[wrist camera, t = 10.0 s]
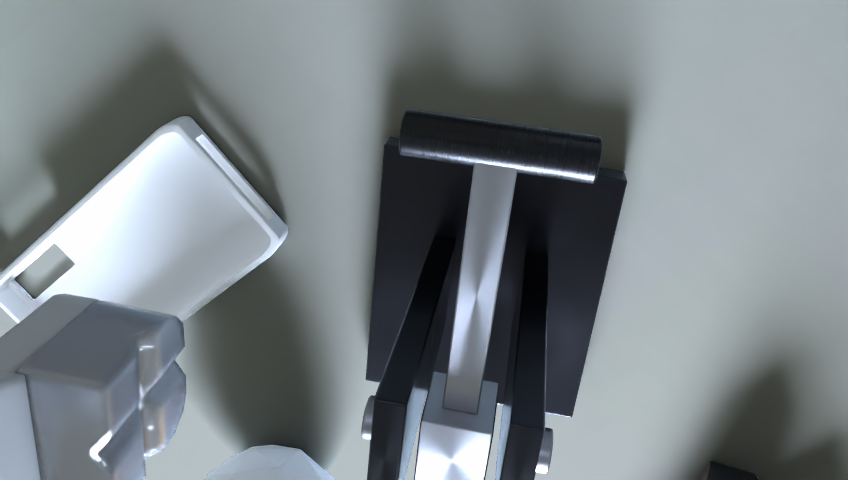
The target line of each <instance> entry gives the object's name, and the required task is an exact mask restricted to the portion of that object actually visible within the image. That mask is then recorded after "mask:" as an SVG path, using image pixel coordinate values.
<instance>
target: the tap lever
mask: <svg viewBox="0 0 848 480" xmlns="http://www.w3.org/2000/svg"><path fill="white" fill-rule="evenodd" d="M602 145H603V141H602V137H600V136H595V135H588V134H581V133H574V132H567V131H560V130H553V129H546V128H539V127H532V126H525V125H518V124H511V123H504V122H497V121H489V120H482V119H475V118H468V117H461V116H454V115H447V114H440V113H433V112H426V111H419V110H412V109H407V110H406V111H405V113H404V116H403V119H402V123H401V129H400V136H399V151H400V154H401V155H403V156H409V157H416V158H423V159H429V160H436V161H443V162H449V163H456V164H463V165H469V166H474V169H473V177H472V184H471V192H470V200H469V207H468V215H467V222H466V230H465V238H464V245H463V253H462V261H461V268H460V276H459V283H458V291H457V299H456V306H455V314H454V322H453V329H452V337H451V344H450V352H449V360H448V367H447V374H446V373H440V372H433V374H432V378H431V382H430V386H429V390H428V394H427V398H426V402H425V406H424V410H423V414H422V418H421V423H420V431H419V440H418V449H417V458H416V467H415V476H414V480H485V476H486V471H487V465H488V460H489V454H490V449H491V443H492V438H493V431H494V423H495V415H496V407H497V399H498V391H499V383H496V382H490V381H484V380H483V377H484V371H485V365H486V359H487V353H488V347H489V341H490V335H491V329H492V322H493V316H494V310H495V304H496V298H497V292H498V286H499V280H500V274H501V268H502V261H503V255H504V249H505V243H506V237H507V231H508V225H509V219H510V213H511V207H512V200H513V194H514V188H515V182H516V176H517V173H523V174H530V175H536V176H543V177H550V178H557V179H563V180H570V181H577V182H583V183H590V184H592V183H594V182H595V180H596V178H597V174H598V170H599V166H600V161H601V154H602Z"/></svg>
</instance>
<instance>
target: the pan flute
mask: <svg viewBox="0 0 848 480" xmlns="http://www.w3.org/2000/svg"><path fill="white" fill-rule="evenodd" d="M700 480H759V479H758V478H757V476H756V475H755V474H753V473H750V472H747V471H744V470H740V469H737V468H734V467H730V466H727V465H724V464H721V463H717V462H714V461H710V463H709V465H708V466H707V468H706V470H705V472H704V474H703V475H702V477H701V479H700Z"/></svg>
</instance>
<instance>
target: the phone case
mask: <svg viewBox="0 0 848 480" xmlns="http://www.w3.org/2000/svg"><path fill="white" fill-rule="evenodd" d="M287 234H288V227H287V225H286V224H285V223H284V222H283V221H282V220H281V219H280V217H279V216H278V215H277V214H276V213H275V212H274V211H273V210H272V208H271V207H270V206H269V205H268V204H267V203H266V202H265V200H264V199H263V198H262V197H261V196H260V195H259V194H258V192H257V191H256V190H255V189H254V188H253V187H252V186H251V185H250V183H249V182H248V181H247V180H246V179H245V178H244V177H243V175H242V174H241V173H240V172H239V171H238V170H237V169H236V168H235V166H234V165H233V164H232V163H231V162H230V161H229V160H228V158H227V157H226V156H225V155H224V154H223V153H222V152H221V151H220V149H219V148H218V147H217V146H216V145H215V144H214V143H213V141H212V140H211V139H210V138H209V137H208V136H207V135H206V134H205V132H204V131H203V130H202V129H201V128H200V127H199V126H198V124H197V123H196V122H195V121H194V120H193V119H192V118H191V117H188V116H182V117H178V118H176V119H174V120H172V121H171V122H169V123H167V124H165V125H163V126H162V127H160V128H159V129H157V130H156V131H155V132H154V133H153V134H152V135H151V136H149V137H148V138H147V139H146V140H145V141H144V142H143V143H142V144H141V145H140V146H139V147H137V148H136V149H135V150H134V151H133V152H132V153H131V154H130V155H129V156H128V157H127V158H125V159H124V160H123V161H122V162H121V163H120V164H119V165H118V166H117V167H116V168H115V169H113V170H112V171H111V172H110V173H109V174H108V175H107V176H106V177H105V178H104V179H103V180H101V181H100V182H99V183H98V184H97V185H96V186H95V187H94V188H93V189H92V190H91V191H89V192H88V193H87V194H86V195H85V196H84V197H83V198H82V199H81V200H80V201H79V202H77V203H76V204H75V205H74V206H73V207H72V208H71V209H70V210H69V211H68V212H67V213H65V214H64V215H63V216H62V217H61V218H60V219H59V220H58V221H57V222H56V223H55V224H53V225H52V226H51V227H50V228H49V229H48V230H47V231H46V232H45V233H44V234H43V235H42V236H40V237H39V238H38V239H37V240H36V241H35V242H34V243H33V244H32V245H31V246H30V247H28V248H27V249H26V250H25V251H24V252H23V253H22V254H21V255H20V256H19V257H18V258H16V259H15V260H14V261H13V262H12V263H11V264H10V265H9V266H8V267H7V268H6V269H4V270H3V271H2V272H1V273H0V307H1V308H2V309H4V310H5V311H6V312H7V313H8V314H9V315H10V316H11V317H12V318H13V319H14V320H15V321H16V322H17V323H19V322H21V321H22V320H23V319H24V318H26V317H27V316H28V315H29V314H31V313H32V312H33V311H34V310H36V309H37V308H38V307H39V306H41V305H42V304H43V303H44V302H46V301H47V300H48V299H49V298H51V297H52V296H53V295H57V294H64V293H67V294H72V295H77V296H83V297H88V298H93V299H98V300H100V301H108V302H113V303H117V304H122V305H127V306H132V307H136V308H141V309H146V310H150V311H155V312H160V313H164V314H169V315H174V316H177V317H178V318H179V319H180V320H181V322H183V321H184V320H186V319H187V318H188V317H190V316H191V315H192V314H194V313H195V312H196V311H198V310H199V309H200V308H202V307H203V306H204V305H206V304H207V303H208V302H210V301H211V300H212V299H214V298H215V297H216V296H218V295H219V294H221V293H222V292H223V291H225V290H226V289H227V288H229V287H230V286H231V285H233V284H234V283H235V282H237V281H238V280H239V279H241V278H242V277H243V276H245V275H246V274H247V273H249V272H250V271H251V270H253V269H254V268H255V267H257V266H258V265H259V264H261V263H262V262H264V261H265V260H266V259H268V258H269V257H270V256H271V255H272V254H273V253H274V252H275V251H276V250H277V249H278V247H279V246H280V245H281V244H282V242H283V241H284V240H285V238H286V237H287ZM54 243H55V244H56V245H57V246H58V247H59V248H60V249H61V250H62V251H63V252H64V253H65V254H66V255H67V256H68V257H69V258H70V259H71V260H72V261H73V262H74V263H75V265H74V266H73V267H72V268H71V269H69V270H68V271H67V272H66V273H65V274H64V275H62V276H61V277H60V278H59V279H58V280H57V281H55V282H54V283H53V284H52V285H51V286H50V287H49V288H47V289H46V290H45V291H44V292H43V293H42V294H40V295H39V296H38V297H37V298H36V299H34V298H32V297H31V296H30V295H29V294H28V293H27V292H26V291H25V290H24V289H23V288H22V287H21V286H20V285H19V284H18V283H17V282H16V281H15V278H16V277H17V276H18V275H19V274H20V273H21V272H22V271H24V270H25V269H26V268H27V267H28V266H29V265H30V264H31V263H32V262H34V261H35V260H36V259H37V258H38V257H39V256H40V255H41V254H42V253H44V252H45V251H46V250H47V249H48V248H49V247H50V246H51V245H52V244H54Z"/></svg>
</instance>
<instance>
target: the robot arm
mask: <svg viewBox="0 0 848 480" xmlns="http://www.w3.org/2000/svg"><path fill="white" fill-rule="evenodd" d="M184 347H185V341H184V328H183V323H182V322H181V320H180V319H179V318H178V317H177V316H174V315H169V314H164V313H160V312H155V311H150V310H146V309H141V308H136V307H132V306H127V305H122V304H117V303H113V302H108V301H100V300H98V299H93V298H88V297H83V296H77V295H72V294H67V293H64V294H57V295H53V296H52V297H51V298H49V299H48V300H47V301H46V302H44V303H43V304H42V305H41V306H39V307H38V308H37V309H36V310H34V311H33V312H32V313H31V314H29V315H28V316H27V317H26V318H24V319H23V320H22V321H21V322H19V323H18V324H17V325H16V326H14V327H13V328H12V329H11V330H9V331H8V332H7V333H6V334H4V335H3V336H2V337H1V338H0V480H143V478H144V477H145V476H146V473H145V458H147V457H149V456H151V455H153V454H155V453H157V452H159V451H161V450H163V449H164V448H165V447H166V445H167V444H168V442H169V441H170V439H171V438H172V436H173V435H174V433H175V431H176V428H177V426H178V423H179V420H180V418H181V415H182V413H183V409H184V403H185V396H186V375H185V374H184V372H183V371H182V370H181V368H180V367H179V365H178V364H177V363H176V361H175V360H174V359H175V358H176V357H177V355H178V354H179V353H180V352H181V350H182V349H183V348H184Z"/></svg>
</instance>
